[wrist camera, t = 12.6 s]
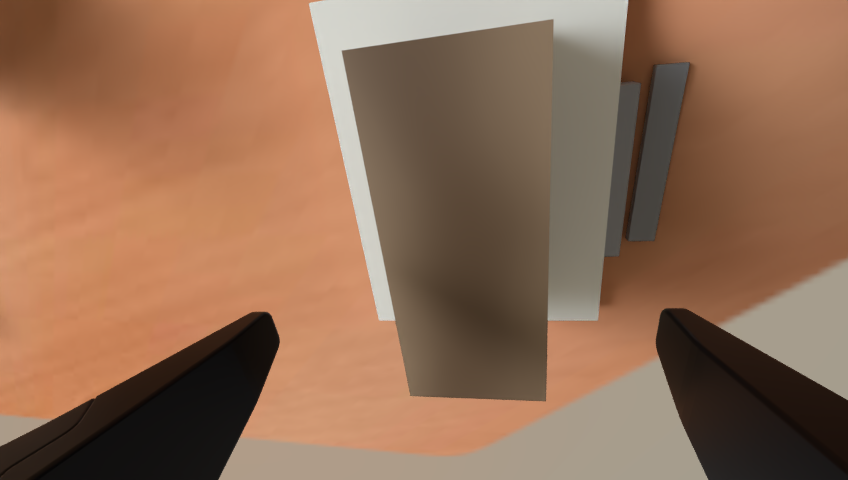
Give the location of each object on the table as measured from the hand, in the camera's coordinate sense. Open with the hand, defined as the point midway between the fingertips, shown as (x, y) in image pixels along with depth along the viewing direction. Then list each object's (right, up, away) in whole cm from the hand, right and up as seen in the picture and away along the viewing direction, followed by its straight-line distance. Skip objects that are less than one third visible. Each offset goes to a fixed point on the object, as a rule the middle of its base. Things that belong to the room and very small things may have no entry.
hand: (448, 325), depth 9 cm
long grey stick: (+8, +5, +9) cm, 13 cm away
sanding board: (+2, +5, +10) cm, 12 cm away
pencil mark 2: (+10, +5, +8) cm, 14 cm away
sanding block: (+2, +5, +9) cm, 10 cm away
